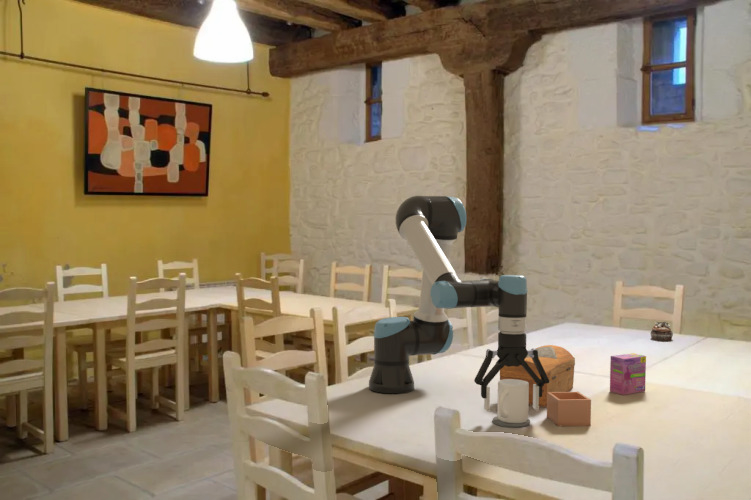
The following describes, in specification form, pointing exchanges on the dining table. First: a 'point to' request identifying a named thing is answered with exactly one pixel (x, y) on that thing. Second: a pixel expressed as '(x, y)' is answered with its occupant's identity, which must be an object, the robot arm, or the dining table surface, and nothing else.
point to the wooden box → (546, 371)
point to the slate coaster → (512, 425)
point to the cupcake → (661, 332)
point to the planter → (569, 408)
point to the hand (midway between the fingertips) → (511, 409)
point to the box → (627, 373)
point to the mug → (513, 400)
